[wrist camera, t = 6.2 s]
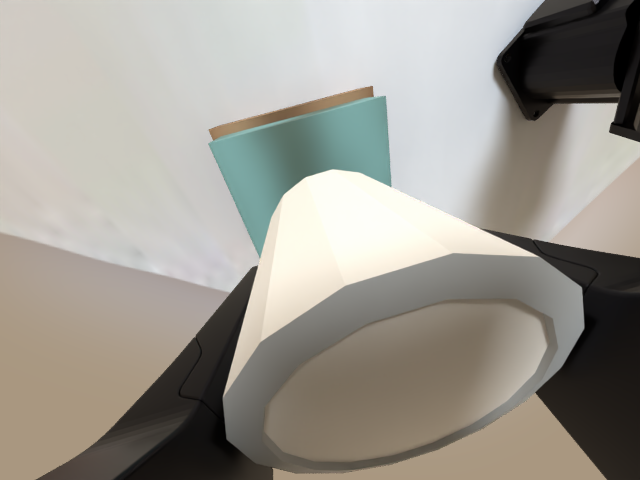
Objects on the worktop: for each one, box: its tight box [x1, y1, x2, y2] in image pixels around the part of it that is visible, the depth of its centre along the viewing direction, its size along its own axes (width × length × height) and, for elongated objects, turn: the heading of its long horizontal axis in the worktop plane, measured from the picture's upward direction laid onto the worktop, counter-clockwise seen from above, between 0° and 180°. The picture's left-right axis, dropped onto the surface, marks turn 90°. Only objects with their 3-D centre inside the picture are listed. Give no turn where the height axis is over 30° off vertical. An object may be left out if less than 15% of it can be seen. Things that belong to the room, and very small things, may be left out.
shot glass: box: [223, 169, 584, 473], centre depth 7 cm, size 7×7×7 cm
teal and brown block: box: [208, 86, 391, 258], centre depth 16 cm, size 10×10×6 cm
